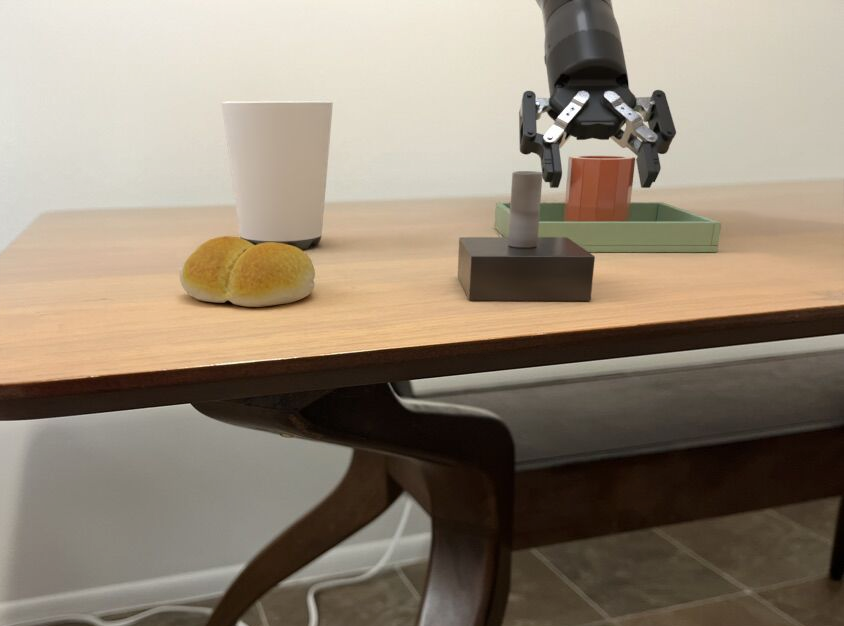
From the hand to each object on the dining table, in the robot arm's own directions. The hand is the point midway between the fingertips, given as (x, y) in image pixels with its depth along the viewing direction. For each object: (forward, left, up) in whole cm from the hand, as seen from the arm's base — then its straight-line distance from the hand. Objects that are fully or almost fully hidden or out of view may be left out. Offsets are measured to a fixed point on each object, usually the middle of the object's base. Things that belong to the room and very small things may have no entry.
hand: (602, 182), depth 76 cm
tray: (0, -1, -5) cm, 5 cm away
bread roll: (+30, +24, -6) cm, 39 cm away
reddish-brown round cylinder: (0, -1, -5) cm, 5 cm away
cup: (+30, +3, -6) cm, 31 cm away
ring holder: (+11, +22, -5) cm, 25 cm away
